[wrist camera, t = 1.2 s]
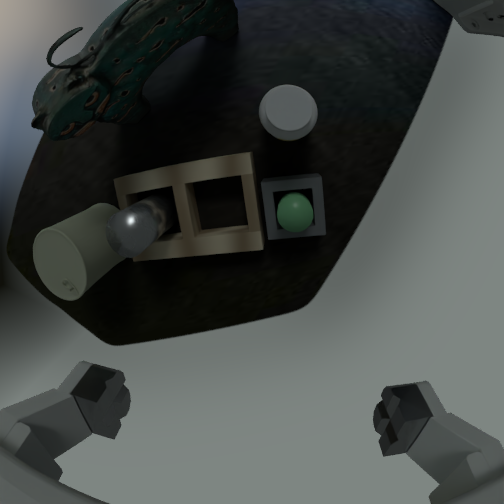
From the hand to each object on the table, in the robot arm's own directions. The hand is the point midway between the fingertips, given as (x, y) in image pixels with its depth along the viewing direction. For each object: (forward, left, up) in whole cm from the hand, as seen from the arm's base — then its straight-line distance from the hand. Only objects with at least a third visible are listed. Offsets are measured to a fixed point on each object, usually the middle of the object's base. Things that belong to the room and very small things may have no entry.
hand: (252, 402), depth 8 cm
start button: (-2, 0, -25) cm, 26 cm away
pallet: (+11, -1, -29) cm, 30 cm away
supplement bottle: (-2, -10, -29) cm, 30 cm away
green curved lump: (+10, -18, -29) cm, 36 cm away
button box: (-2, 0, -29) cm, 29 cm away
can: (+25, +1, -29) cm, 38 cm away
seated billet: (+15, -1, -29) cm, 32 cm away
